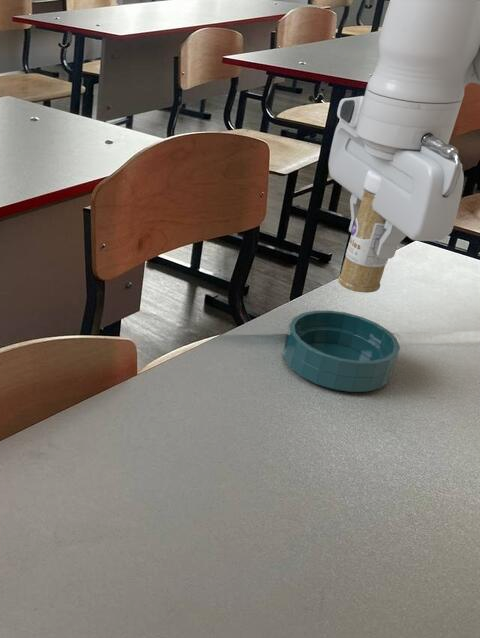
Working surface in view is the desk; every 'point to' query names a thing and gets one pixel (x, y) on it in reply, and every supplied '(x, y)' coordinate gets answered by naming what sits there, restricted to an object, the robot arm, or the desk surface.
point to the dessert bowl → (340, 350)
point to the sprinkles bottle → (365, 244)
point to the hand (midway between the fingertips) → (369, 245)
